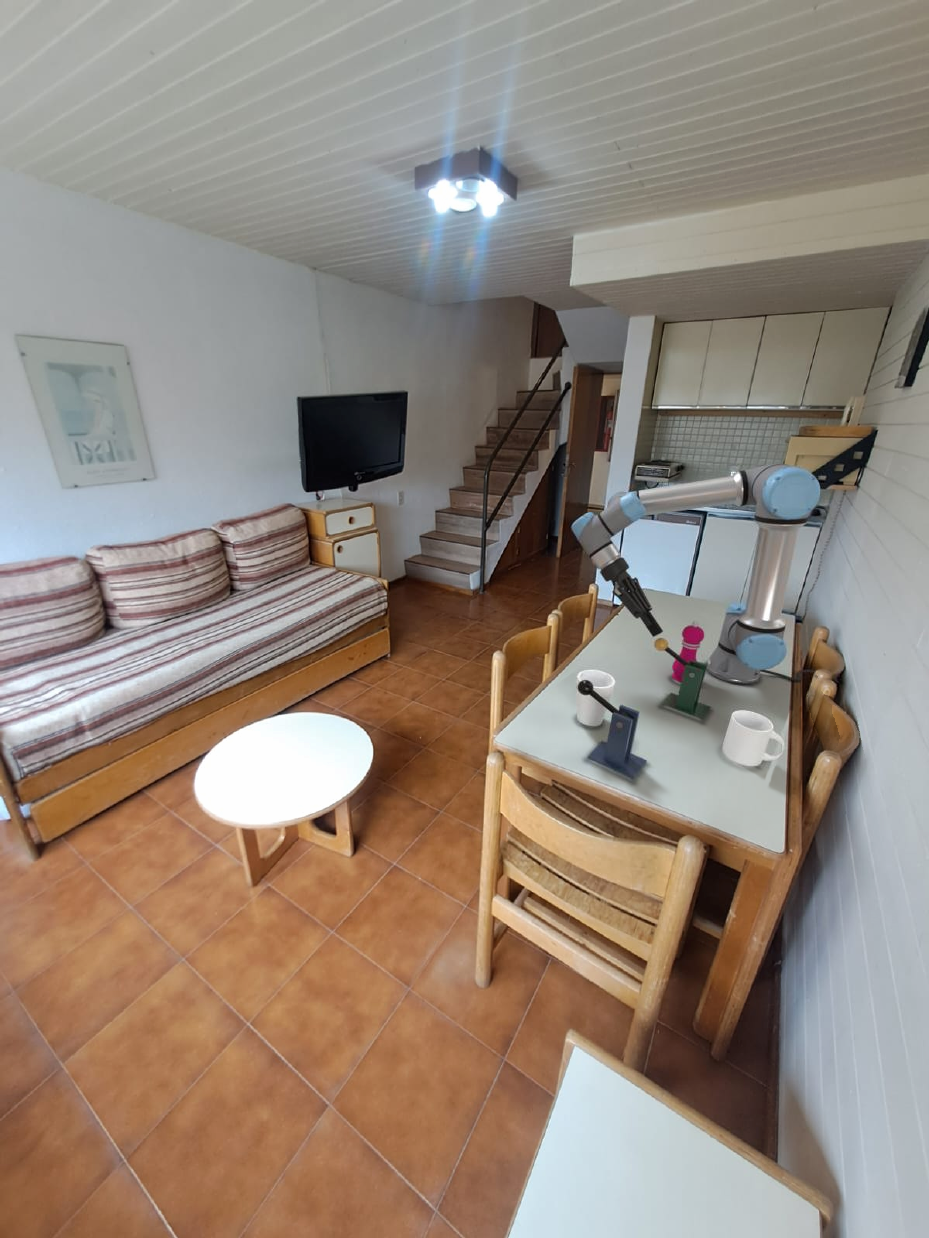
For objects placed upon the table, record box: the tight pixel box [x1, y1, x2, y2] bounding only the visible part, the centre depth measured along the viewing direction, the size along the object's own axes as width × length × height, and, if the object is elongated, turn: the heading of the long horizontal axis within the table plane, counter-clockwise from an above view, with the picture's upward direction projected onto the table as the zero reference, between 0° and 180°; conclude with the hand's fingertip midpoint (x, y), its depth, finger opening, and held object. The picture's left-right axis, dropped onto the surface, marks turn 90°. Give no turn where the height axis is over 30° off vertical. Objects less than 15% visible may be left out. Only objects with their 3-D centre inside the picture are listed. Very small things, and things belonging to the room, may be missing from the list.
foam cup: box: [575, 669, 616, 727], centre depth 127 cm, size 10×9×13 cm
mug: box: [721, 709, 786, 767], centre depth 115 cm, size 9×12×11 cm
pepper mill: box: [671, 620, 705, 683], centre depth 148 cm, size 7×7×20 cm
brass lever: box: [653, 637, 702, 670], centre depth 134 cm, size 14×4×4 cm, turn 51°
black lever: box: [578, 680, 634, 720], centre depth 112 cm, size 14×4×4 cm, turn 51°
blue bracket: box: [587, 704, 647, 780], centre depth 112 cm, size 11×8×14 cm
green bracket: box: [661, 660, 712, 720], centre depth 134 cm, size 11×8×14 cm
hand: (658, 634), depth 136 cm, fingers closed
